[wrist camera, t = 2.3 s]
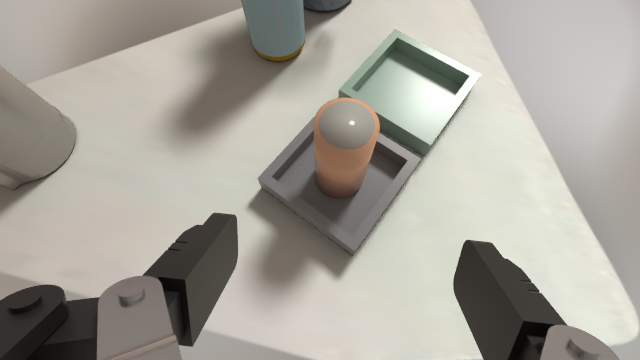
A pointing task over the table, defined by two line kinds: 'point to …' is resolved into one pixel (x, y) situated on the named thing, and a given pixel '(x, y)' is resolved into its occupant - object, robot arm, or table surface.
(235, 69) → the table surface
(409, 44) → the tray
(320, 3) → the moka pot
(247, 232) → the table surface
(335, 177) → the orange cylinder
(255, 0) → the bottle
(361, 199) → the tray
